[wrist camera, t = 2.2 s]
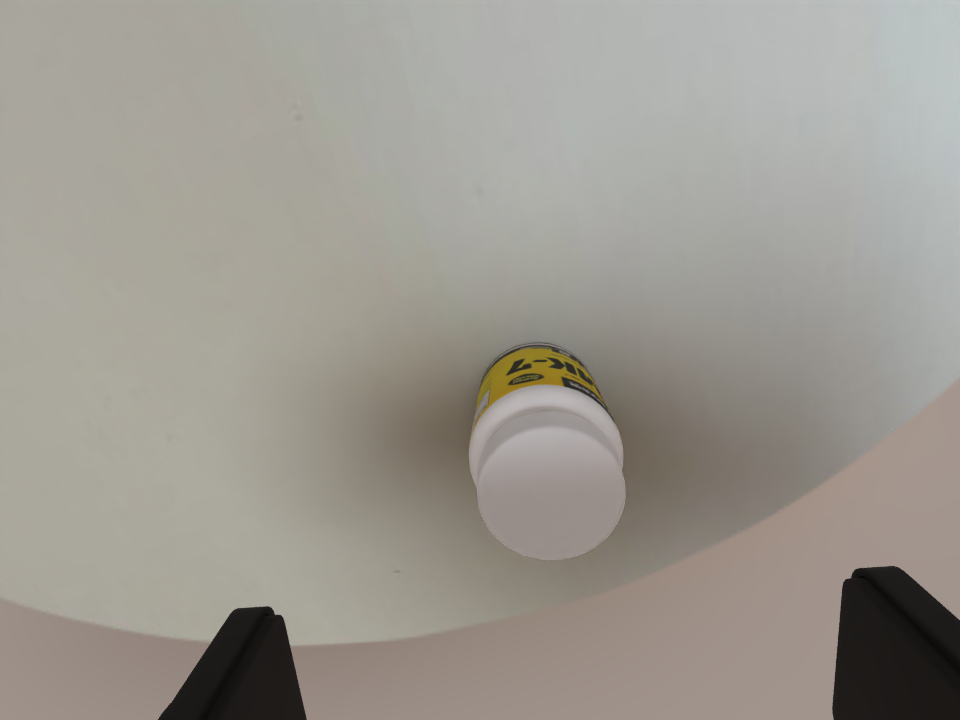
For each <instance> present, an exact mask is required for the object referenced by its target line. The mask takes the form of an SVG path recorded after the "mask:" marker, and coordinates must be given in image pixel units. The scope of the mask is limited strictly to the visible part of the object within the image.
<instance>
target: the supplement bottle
mask: <svg viewBox="0 0 960 720" xmlns="http://www.w3.org/2000/svg"><path fill="white" fill-rule="evenodd" d="M469 465H470V470H471V474H472V478H473V480H474V483H475V485H476V487H477V500H478V506H479V510H480V513H481V516H482V519H483V521H484V522H485V524H486V526H487V528H488V529H489V530H490V532H491V533H492V534H493V535H494V536H495V537H496V539H497V540H499V541H500V542H501V543H502V544H503V545H505V546H506V547H508V548H509V549H511V550H513V551H515V552H517V553H518V554H521V555H523V556H526V557H531V558H534V559H539V560H563V559H568V558H573V557H576V556H579V555H581V554H583V553H586V552H588V551H590V550H592V549H593V548H595V547H596V546H598V545H599V544H600V543H602V542H603V541H604V540H605V539H606V538H607V537H608V536H609V535H610V534H611V533H612V531H613V530H614V528H615V527H616V525H617V524H618V522H619V520H620V518H621V515H622V513H623V509H624V506H625V499H626V487H625V480H624V476H623V473H622V468H623V446H622V440H621V436H620V433H619V430H618V428H617V426H616V424H615V422H614V419H613V417H612V416H611V414H610V412H609V410H608V408H607V406H606V404H605V402H604V400H603V398H602V396H601V394H600V392H599V390H598V388H597V386H596V384H595V382H594V380H593V378H592V376H591V375H590V373H589V371H588V370H587V368H586V367H585V366H584V364H583V363H582V362H581V361H580V360H579V359H578V358H577V357H575V356H574V355H573V354H572V353H570V352H568V351H566V350H565V349H562V348H560V347H557V346H554V345H549V344H539V343H535V344H526V345H521V346H518V347H515V348H512V349H510V350H508V351H507V352H505V353H503V354H502V355H501V356H499V357H498V358H497V359H496V360H495V361H494V362H493V363H492V364H491V366H490V367H489V368H488V370H487V371H486V373H485V375H484V377H483V379H482V382H481V385H480V389H479V395H478V400H477V406H476V411H475V416H474V422H473V427H472V433H471V438H470V444H469Z"/></svg>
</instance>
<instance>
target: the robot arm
mask: <svg viewBox="0 0 960 720" xmlns="http://www.w3.org/2000/svg"><path fill="white" fill-rule="evenodd" d="M832 709H833V717H834V720H960V620H959V619H957V618H956V617H955V616H954V615H953V614H952V613H951V612H950V611H949V610H947V609H946V608H945V607H944V606H943V605H942V604H941V603H940V602H938V601H937V600H936V599H935V598H934V597H933V596H932V595H930V594H929V593H928V592H927V591H926V590H925V589H924V588H923V587H921V586H920V585H919V584H918V583H917V582H916V581H915V580H914V579H912V578H911V577H910V576H909V575H908V574H906V573H905V572H904V571H903V570H901V569H900V568H898V567H895V566H888V567H872V568H859V569H856V570H854V572H853V574H852V577H851V579H846V580H845V581H844V582H843V588H842V599H841V611H840V623H839V635H838V647H837V659H836V672H835V683H834V695H833V707H832ZM158 720H307V719H306V715H305V710H304V706H303V701H302V697H301V693H300V688H299V684H298V679H297V675H296V670H295V666H294V662H293V657H292V653H291V648H290V644H289V640H288V635H287V631H286V626H285V622H284V619H283V617H282V616H281V615H275V614H274V611H273V609H272V608H271V607H268V606H267V607H252V608H237V609H235V610H233V612H232V613H231V614H230V615H229V617H228V618H227V620H226V621H225V623H224V624H223V626H222V627H221V629H220V630H219V632H218V633H217V635H216V636H215V638H214V639H213V641H212V642H211V644H210V645H209V647H208V648H207V650H206V651H205V653H204V654H203V656H202V658H201V659H200V660H199V662H198V663H197V665H196V666H195V668H194V669H193V671H192V672H191V674H190V675H189V677H188V678H187V680H186V681H185V683H184V685H183V686H182V687H181V689H180V691H179V692H178V694H177V695H176V697H175V698H174V700H173V701H172V703H170V705H169V706H168V707H167V708H166V709H165V711H164V712H163V713H162V714H161V716H160V717H159V719H158Z"/></svg>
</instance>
